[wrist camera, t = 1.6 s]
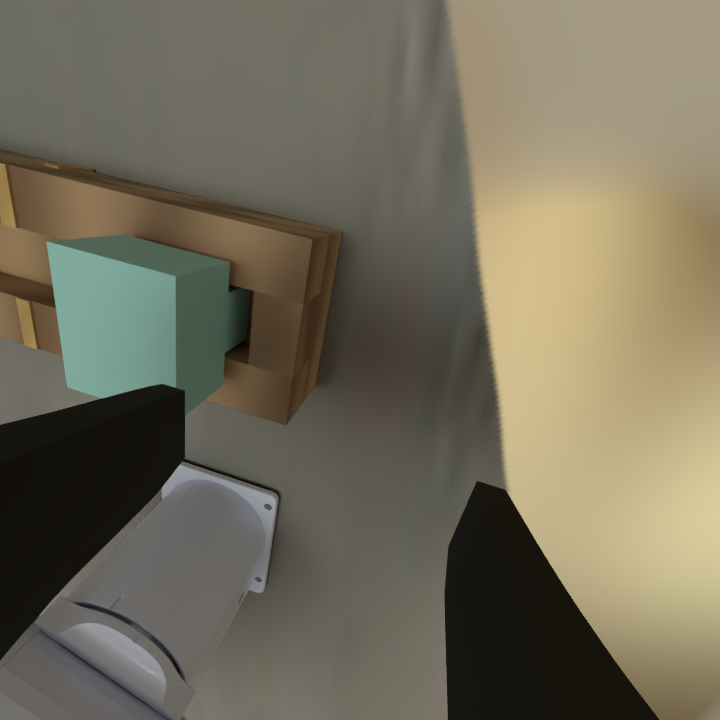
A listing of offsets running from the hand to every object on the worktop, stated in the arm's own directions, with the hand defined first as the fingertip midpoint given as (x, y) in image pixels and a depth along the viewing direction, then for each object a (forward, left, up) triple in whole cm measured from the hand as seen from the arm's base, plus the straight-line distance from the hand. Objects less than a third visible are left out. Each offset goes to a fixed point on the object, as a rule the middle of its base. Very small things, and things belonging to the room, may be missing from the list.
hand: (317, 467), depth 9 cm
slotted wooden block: (0, +15, -10) cm, 18 cm away
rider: (0, +8, -8) cm, 11 cm away
